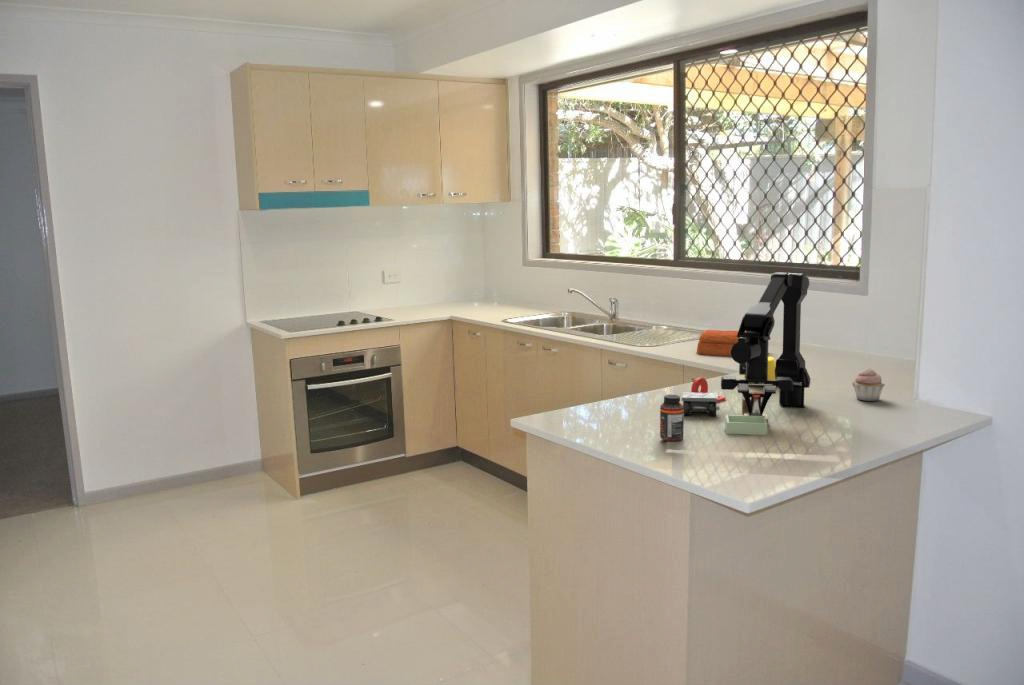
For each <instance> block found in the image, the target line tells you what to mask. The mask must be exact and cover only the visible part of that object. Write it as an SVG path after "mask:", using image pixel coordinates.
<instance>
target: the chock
mask: <svg viewBox="0 0 1024 685" xmlns="http://www.w3.org/2000/svg"><path fill="white" fill-rule="evenodd" d="M750 403H751V397H750ZM741 413H742V415H744V413H749V411H748V407H747V404H746V401H745V399H744V397H743V394H742V395H741Z"/></svg>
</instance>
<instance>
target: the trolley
mask: <svg viewBox="0 0 1024 685" xmlns="http://www.w3.org/2000/svg"><path fill="white" fill-rule="evenodd" d="M718 396H719V394H718V392H708V393H694V392H691V391H688V392H687V391H686V392H685V391H684V392H683V391H682V394H681V401H682V402H683V403H682V405H683V407H684V416H691V412H690V411H692V412H693V413H694V412H695V413H708V417H709V416H710V417H711V416H712V417H713V416H714V417H717V411H720V405H719V406H717V403H716V402H718ZM718 403H719V402H718Z"/></svg>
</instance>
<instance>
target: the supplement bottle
mask: <svg viewBox="0 0 1024 685" xmlns="http://www.w3.org/2000/svg"><path fill="white" fill-rule="evenodd" d="M659 409H660V410H659V414H660V418H659V421H660V422H659V423H660V424H659V429H660V431H659V436H660V439H662V440H663V441H666V442H679V441H682V440H684V424H685V423H684V422H685V421H684V420H685V419H684V416H685V415H684V407H683V403H681V396H680V395H677V394H666V395H664V396H663V403H661V404H660V408H659Z"/></svg>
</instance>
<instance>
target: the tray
mask: <svg viewBox="0 0 1024 685" xmlns="http://www.w3.org/2000/svg"><path fill="white" fill-rule="evenodd" d="M725 432H726V435H727V434H729V435H731V434H733V435H754V436H755V435H759V436H760V435H761V436H767V435H768V426H767V421H766V418H765V416H746V415H739V414H738V415H737V414H725Z"/></svg>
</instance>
